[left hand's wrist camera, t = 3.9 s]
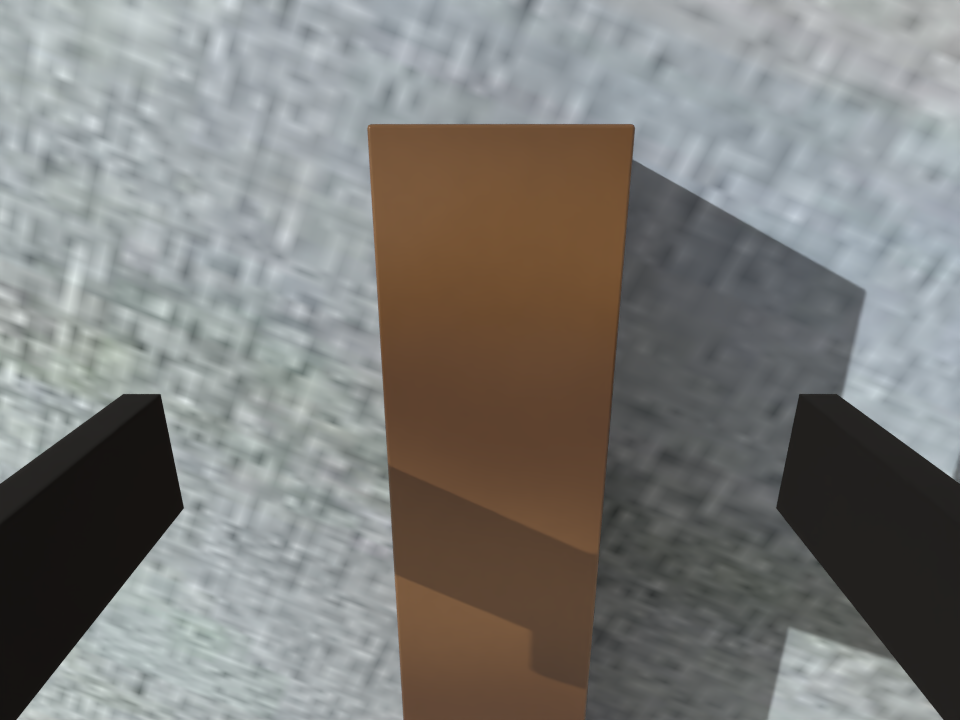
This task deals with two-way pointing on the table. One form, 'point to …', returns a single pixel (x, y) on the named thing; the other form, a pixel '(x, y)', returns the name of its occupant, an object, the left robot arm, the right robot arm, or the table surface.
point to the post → (498, 402)
